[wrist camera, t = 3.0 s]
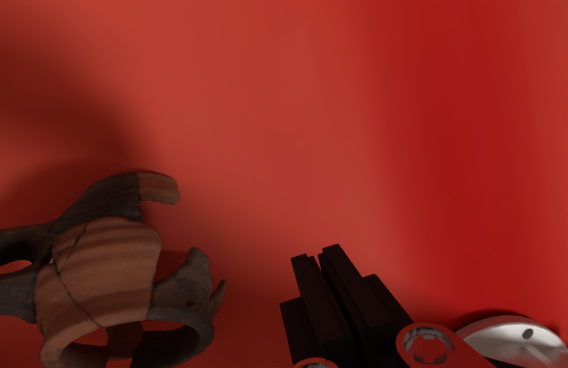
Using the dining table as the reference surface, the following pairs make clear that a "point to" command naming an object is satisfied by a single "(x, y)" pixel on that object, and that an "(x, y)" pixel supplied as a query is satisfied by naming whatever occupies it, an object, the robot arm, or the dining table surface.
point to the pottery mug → (108, 280)
